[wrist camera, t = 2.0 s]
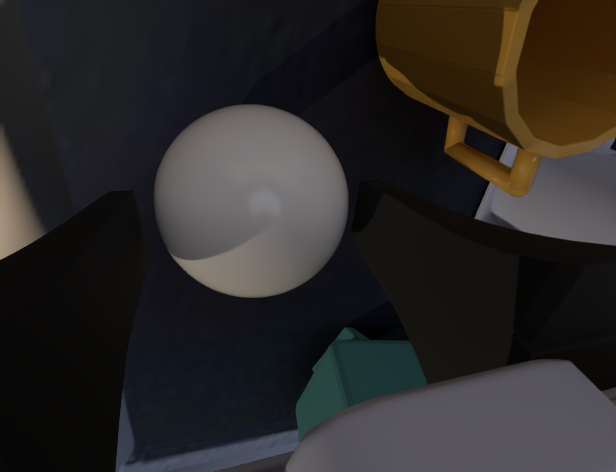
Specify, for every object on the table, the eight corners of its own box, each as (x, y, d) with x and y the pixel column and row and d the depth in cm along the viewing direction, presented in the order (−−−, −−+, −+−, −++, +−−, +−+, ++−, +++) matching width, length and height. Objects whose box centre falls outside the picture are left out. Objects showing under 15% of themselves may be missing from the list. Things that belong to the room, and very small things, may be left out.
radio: (271, 386, 32) (313, 609, 20) (307, 310, 27) (390, 548, 15) (504, 375, 46) (609, 505, 34) (556, 324, 41) (700, 455, 29)
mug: (378, -91, 14) (566, -184, 7) (544, -103, 15) (846, -190, 8) (370, 154, 20) (461, 236, 13) (486, 131, 22) (625, 195, 15)
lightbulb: (186, 40, 15) (169, 101, 6) (312, 94, 17) (423, 189, 9) (159, 168, 18) (121, 333, 9) (271, 197, 20) (324, 344, 12)
